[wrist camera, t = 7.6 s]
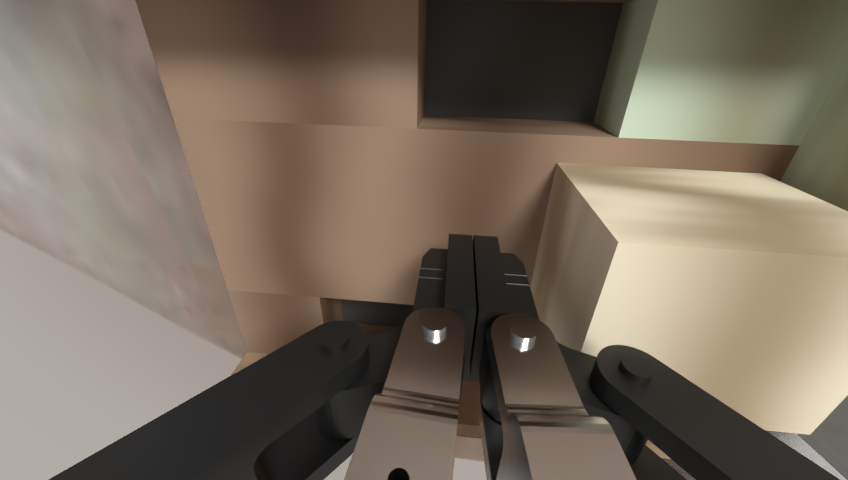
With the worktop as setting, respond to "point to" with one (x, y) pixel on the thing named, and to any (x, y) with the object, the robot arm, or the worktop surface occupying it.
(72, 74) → the worktop surface
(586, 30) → the box
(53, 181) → the worktop surface
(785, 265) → the birch block
